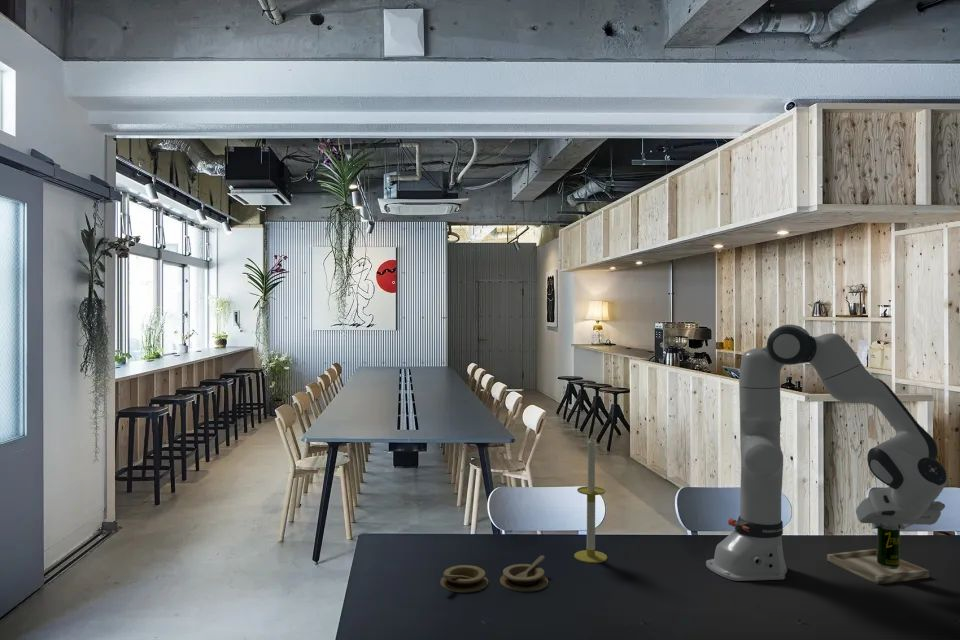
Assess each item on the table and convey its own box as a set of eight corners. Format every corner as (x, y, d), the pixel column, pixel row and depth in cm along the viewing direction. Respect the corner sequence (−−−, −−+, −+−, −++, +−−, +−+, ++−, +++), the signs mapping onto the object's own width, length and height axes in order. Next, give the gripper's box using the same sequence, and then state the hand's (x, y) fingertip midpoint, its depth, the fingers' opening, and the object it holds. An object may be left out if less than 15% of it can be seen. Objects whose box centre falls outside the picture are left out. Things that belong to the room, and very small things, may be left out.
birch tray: (878, 584, 183) (878, 577, 183) (827, 561, 201) (827, 554, 201) (928, 577, 188) (928, 570, 188) (874, 555, 206) (874, 548, 206)
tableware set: (542, 570, 195) (542, 549, 195) (554, 599, 175) (554, 576, 175) (440, 572, 193) (440, 551, 193) (440, 601, 173) (440, 578, 173)
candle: (592, 549, 210) (593, 429, 210) (614, 559, 201) (615, 434, 201) (567, 554, 205) (568, 432, 204) (588, 565, 196) (589, 438, 196)
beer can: (872, 562, 191) (873, 520, 191) (890, 562, 191) (890, 520, 191) (885, 569, 185) (886, 526, 185) (904, 569, 186) (904, 526, 186)
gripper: (942, 492, 180) (921, 517, 190) (864, 490, 182) (846, 515, 192) (953, 513, 176) (930, 538, 186) (872, 511, 177) (854, 536, 187)
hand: (887, 526), depth 189 cm, fingers closed on beer can, 5 cm apart
